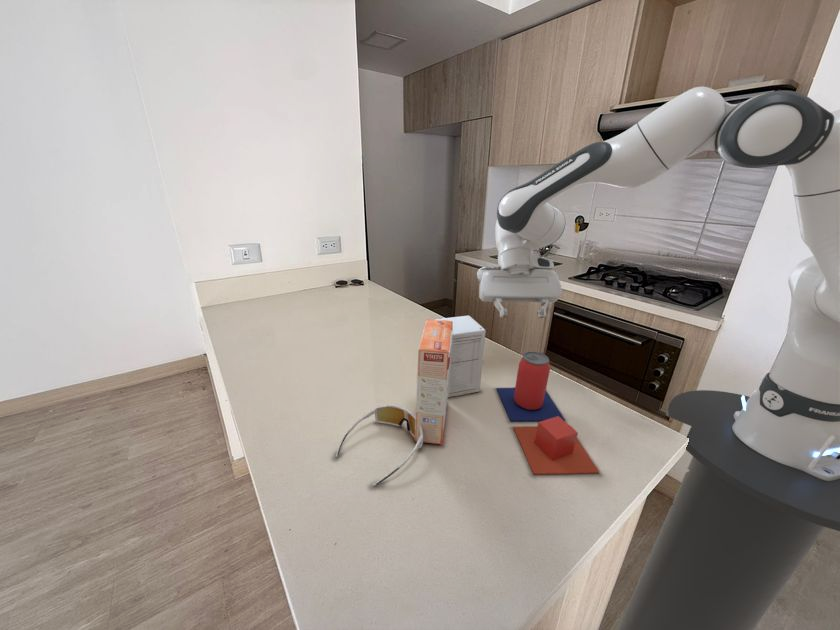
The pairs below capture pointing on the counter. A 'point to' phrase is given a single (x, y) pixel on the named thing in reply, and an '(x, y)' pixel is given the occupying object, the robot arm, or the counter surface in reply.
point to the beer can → (532, 380)
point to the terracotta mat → (563, 465)
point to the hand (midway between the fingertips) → (523, 316)
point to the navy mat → (523, 414)
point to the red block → (555, 437)
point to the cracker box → (433, 380)
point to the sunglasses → (394, 417)
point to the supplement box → (465, 355)
